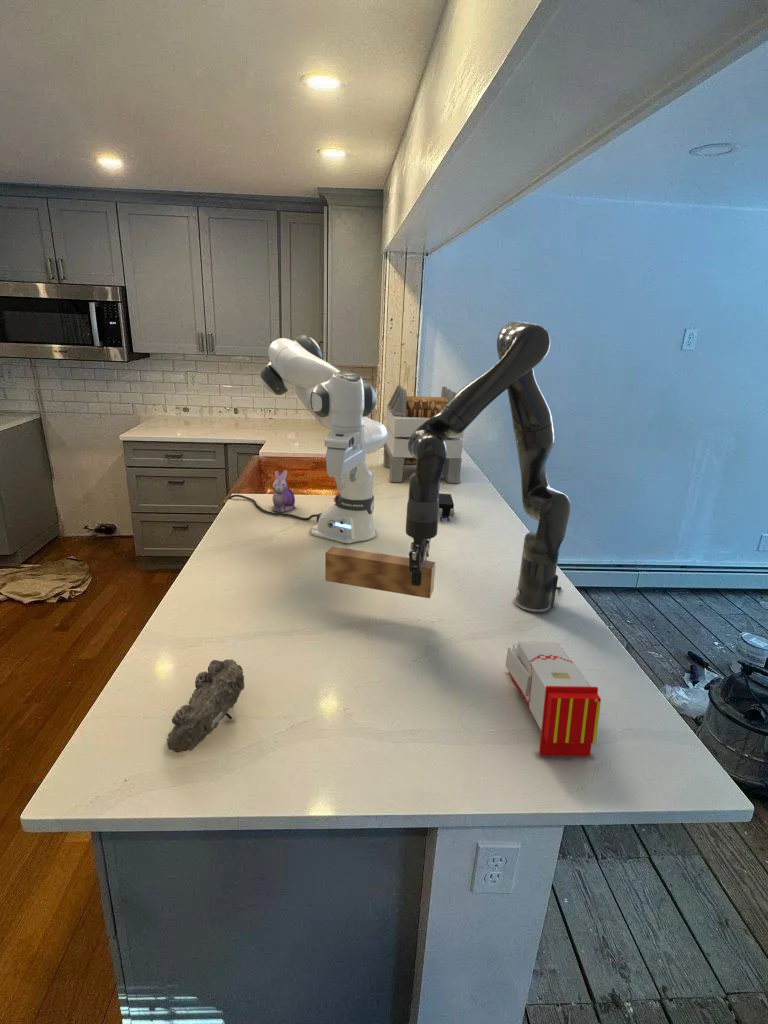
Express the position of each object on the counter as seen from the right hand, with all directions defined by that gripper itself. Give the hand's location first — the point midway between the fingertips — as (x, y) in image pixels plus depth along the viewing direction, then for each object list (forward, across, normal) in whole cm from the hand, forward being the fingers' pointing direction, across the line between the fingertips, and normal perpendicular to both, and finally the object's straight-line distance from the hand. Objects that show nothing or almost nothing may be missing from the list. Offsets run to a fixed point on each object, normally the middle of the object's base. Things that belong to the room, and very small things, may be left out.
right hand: (418, 580), depth 139 cm
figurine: (+12, +65, +67) cm, 94 cm away
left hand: (-17, +16, +25) cm, 34 cm away
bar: (+3, 0, +10) cm, 11 cm away
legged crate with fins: (+12, +137, +30) cm, 140 cm away
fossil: (+12, -47, +29) cm, 56 cm away
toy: (+12, -23, -32) cm, 41 cm away
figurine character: (+12, +80, +7) cm, 81 cm away
